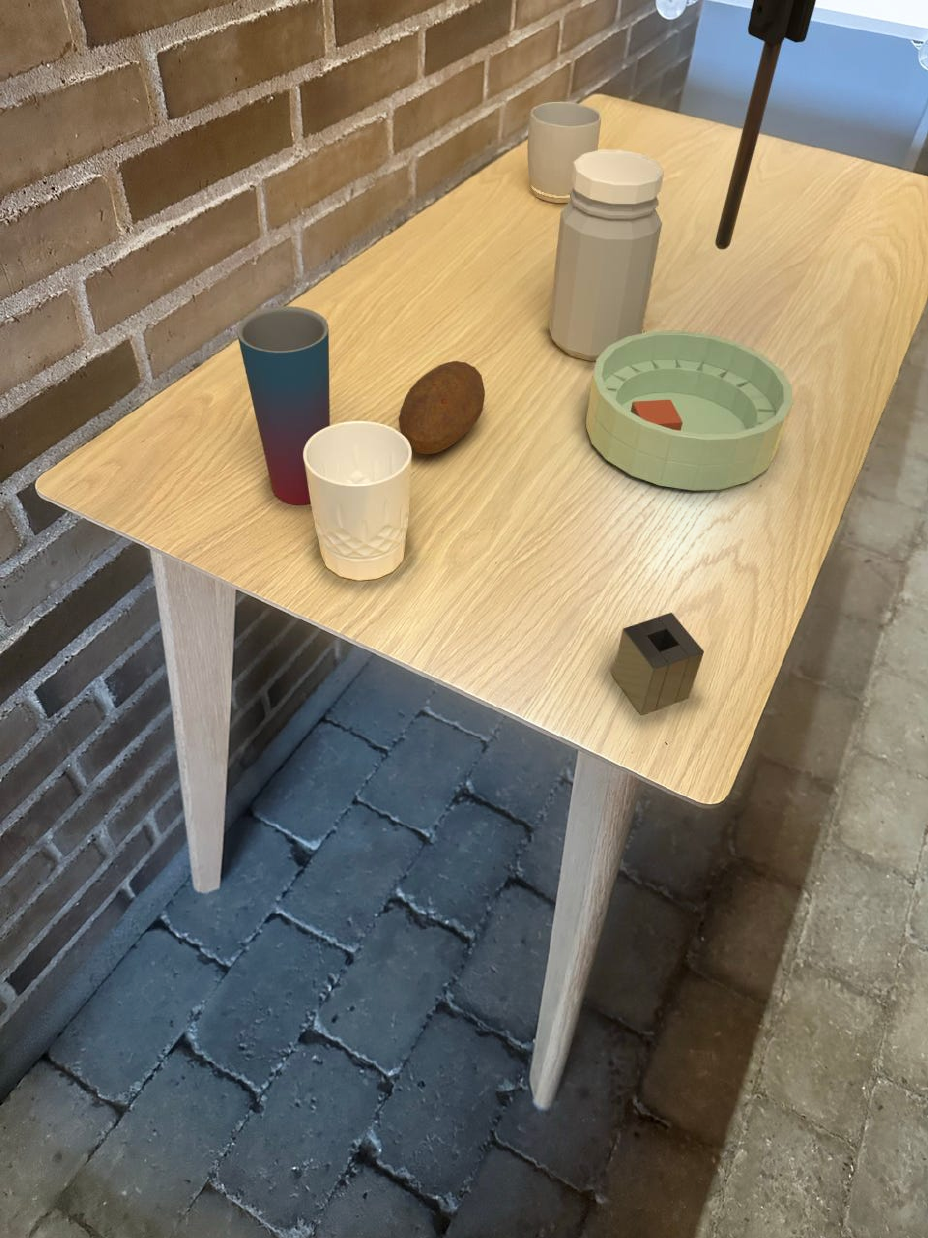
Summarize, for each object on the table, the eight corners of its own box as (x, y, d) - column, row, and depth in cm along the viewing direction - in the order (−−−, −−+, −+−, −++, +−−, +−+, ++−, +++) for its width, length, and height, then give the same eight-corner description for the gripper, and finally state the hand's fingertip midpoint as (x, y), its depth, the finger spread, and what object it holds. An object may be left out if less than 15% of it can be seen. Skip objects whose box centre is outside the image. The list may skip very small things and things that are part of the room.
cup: (356, 480, 82) (346, 322, 71) (307, 522, 78) (288, 362, 67) (296, 453, 84) (277, 297, 73) (245, 492, 80) (217, 333, 69)
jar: (635, 371, 96) (669, 192, 83) (541, 358, 97) (559, 179, 84) (642, 324, 102) (674, 151, 89) (553, 312, 103) (572, 140, 90)
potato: (381, 464, 84) (379, 397, 79) (430, 397, 91) (431, 332, 86) (452, 483, 82) (454, 416, 77) (495, 413, 90) (500, 348, 85)
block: (663, 432, 87) (670, 399, 85) (675, 455, 85) (683, 421, 82) (625, 434, 87) (632, 401, 84) (636, 457, 85) (643, 424, 82)
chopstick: (723, 244, 76) (798, -53, 61) (731, 250, 75) (809, -48, 60) (710, 246, 76) (783, -52, 61) (719, 253, 75) (794, -47, 60)
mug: (574, 213, 121) (584, 131, 114) (512, 198, 124) (518, 116, 117) (611, 180, 129) (623, 101, 122) (552, 166, 132) (560, 88, 125)
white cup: (432, 552, 76) (433, 451, 69) (361, 602, 72) (355, 500, 64) (365, 508, 79) (359, 407, 72) (293, 553, 75) (280, 451, 68)
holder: (658, 659, 69) (671, 611, 65) (689, 698, 66) (704, 651, 63) (611, 675, 68) (622, 628, 64) (641, 716, 65) (654, 669, 61)
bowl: (703, 370, 96) (716, 316, 92) (813, 468, 85) (834, 412, 81) (552, 406, 91) (559, 350, 87) (649, 515, 80) (662, 458, 76)
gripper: (798, -351, 46) (713, 65, 60) (1025, -340, 51) (900, 43, 64) (710, -355, 51) (650, 32, 64) (926, -345, 56) (828, 14, 69)
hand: (775, 36), depth 64 cm, fingers closed on chopstick, 1 cm apart
